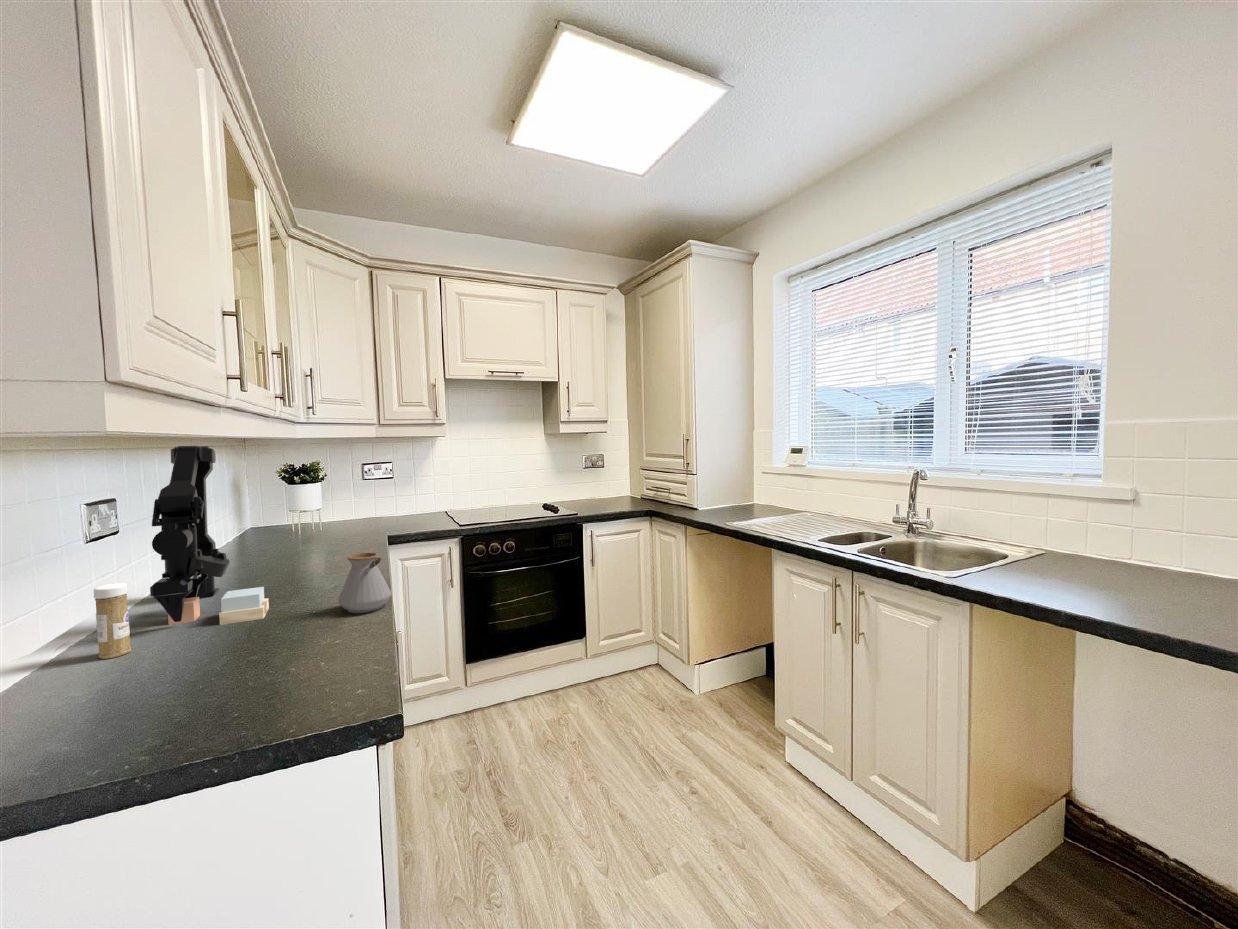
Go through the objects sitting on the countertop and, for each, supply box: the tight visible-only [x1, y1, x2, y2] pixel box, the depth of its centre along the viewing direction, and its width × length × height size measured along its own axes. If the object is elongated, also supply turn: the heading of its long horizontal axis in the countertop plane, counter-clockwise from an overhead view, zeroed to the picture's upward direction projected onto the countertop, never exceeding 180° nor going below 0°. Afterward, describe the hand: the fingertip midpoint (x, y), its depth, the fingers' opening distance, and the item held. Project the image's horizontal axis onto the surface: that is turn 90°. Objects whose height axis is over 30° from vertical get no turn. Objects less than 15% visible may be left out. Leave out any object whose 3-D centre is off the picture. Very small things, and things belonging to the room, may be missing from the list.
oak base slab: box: [218, 597, 270, 626], centre depth 117 cm, size 8×8×3 cm
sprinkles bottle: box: [93, 582, 132, 660], centre depth 96 cm, size 5×5×13 cm
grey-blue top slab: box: [220, 586, 265, 612], centre depth 117 cm, size 7×7×3 cm
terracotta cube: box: [167, 597, 201, 626], centre depth 115 cm, size 4×4×4 cm
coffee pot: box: [338, 552, 392, 614], centre depth 118 cm, size 21×12×15 cm, turn 39°
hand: (184, 615), depth 115 cm, fingers open, 9 cm apart
